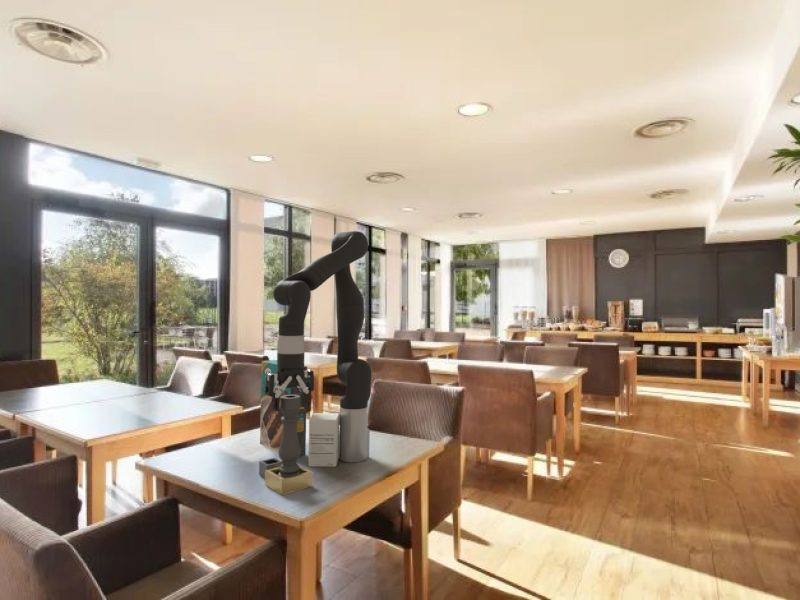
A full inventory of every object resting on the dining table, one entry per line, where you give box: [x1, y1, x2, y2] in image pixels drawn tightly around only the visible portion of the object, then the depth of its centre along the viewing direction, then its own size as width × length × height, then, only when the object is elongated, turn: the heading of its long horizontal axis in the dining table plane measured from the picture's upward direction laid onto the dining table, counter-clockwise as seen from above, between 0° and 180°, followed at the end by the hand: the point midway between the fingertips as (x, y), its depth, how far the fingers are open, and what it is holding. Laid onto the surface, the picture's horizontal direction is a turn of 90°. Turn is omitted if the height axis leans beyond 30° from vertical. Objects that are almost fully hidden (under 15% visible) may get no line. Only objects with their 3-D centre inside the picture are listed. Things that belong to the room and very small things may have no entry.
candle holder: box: [278, 395, 301, 478], centre depth 135 cm, size 6×6×25 cm
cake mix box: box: [259, 359, 308, 458], centre depth 167 cm, size 22×6×30 cm, turn 42°
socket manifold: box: [258, 457, 314, 496], centre depth 137 cm, size 10×18×4 cm, turn 43°
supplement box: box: [308, 412, 340, 468], centre depth 154 cm, size 9×9×15 cm
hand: (289, 408), depth 134 cm, fingers open, 8 cm apart
